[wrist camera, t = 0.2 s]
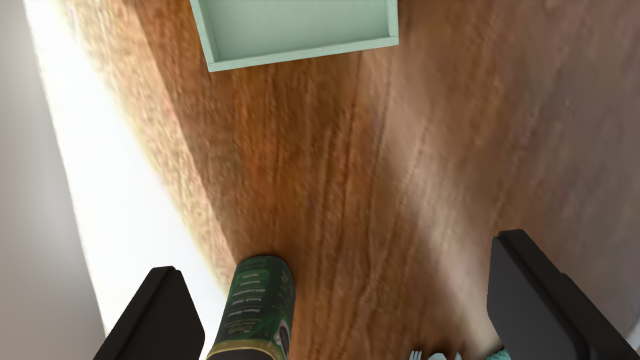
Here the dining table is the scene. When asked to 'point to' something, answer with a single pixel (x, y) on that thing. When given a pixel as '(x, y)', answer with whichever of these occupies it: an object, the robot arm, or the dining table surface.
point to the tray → (290, 29)
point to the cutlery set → (502, 356)
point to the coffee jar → (257, 312)
